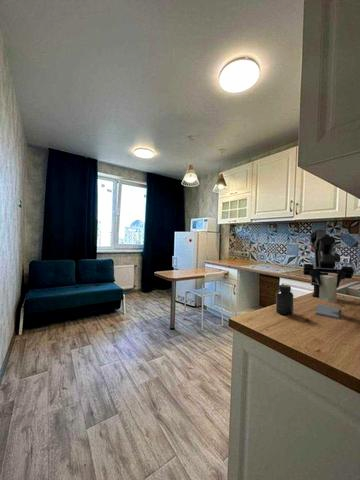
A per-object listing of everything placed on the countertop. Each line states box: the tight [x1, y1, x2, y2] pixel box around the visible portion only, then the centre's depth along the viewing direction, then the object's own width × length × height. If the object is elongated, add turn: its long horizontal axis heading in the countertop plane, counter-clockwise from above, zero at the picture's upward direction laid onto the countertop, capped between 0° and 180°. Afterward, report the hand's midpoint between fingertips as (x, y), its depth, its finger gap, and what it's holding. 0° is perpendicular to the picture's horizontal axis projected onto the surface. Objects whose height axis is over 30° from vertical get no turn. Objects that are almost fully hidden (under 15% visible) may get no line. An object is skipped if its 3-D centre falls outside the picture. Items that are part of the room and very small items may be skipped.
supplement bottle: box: [275, 284, 294, 316], centre depth 91 cm, size 7×7×12 cm
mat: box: [315, 303, 340, 320], centre depth 93 cm, size 14×8×1 cm, turn 142°
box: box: [318, 274, 338, 303], centre depth 92 cm, size 5×4×11 cm
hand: (328, 286), depth 91 cm, fingers closed on box, 6 cm apart
